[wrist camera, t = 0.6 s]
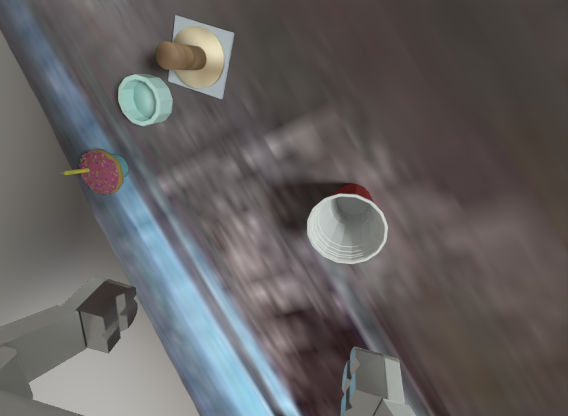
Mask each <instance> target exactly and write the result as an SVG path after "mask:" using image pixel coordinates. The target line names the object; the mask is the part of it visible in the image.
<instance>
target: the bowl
mask: <svg viewBox="0 0 568 416" xmlns="http://www.w3.org/2000/svg"><path fill="white" fill-rule="evenodd" d="M118 101H119V104H120V106H121V109H122V112H123V113H124V115H125V116H126V117H127V118H128V119H129V120H130V121H131V122H132V123H135V124H138V125H141V126H146V125H150V124H155V123H159V122H163V121H165V120H166V119H167V117H168V116H169V115H170V113H171V110H172V102H173V100H172V97H171V94H170V91H169V88H168V86H167V85H166V84H165V83H164V82H163V81H162V80H161V79H160V78H159V77H156V76H153V75H150V74H134V75H131V76H128V77H125V78H124V80H123V81H122V83H121V84H120V86H119V91H118Z"/></svg>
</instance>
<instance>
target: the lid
mask: <svg viewBox="0 0 568 416" xmlns="http://www.w3.org/2000/svg"><path fill="white" fill-rule="evenodd" d="M156 60H157V62H158V64H159V65H160V66H161V67H162V68H164V69H166V70H175V72H176V74H177V75H178V77H179V78H180V79H181V80H182V81H183V82H184V83H185V84H187V85H189V86H191V87H193V88H207V87H210V86H212V85H214V84H215V83H216V82H217V81H218V80H219V78H220V77H221V75H222V73H223V70H224V65H225V56H224V50H223V47H222V45H221V43H220V41H219V39H218V38H217V37H216V36H215V35H214V34H213V33H212V32H211V31H210V30H208V29H206V28H203V27H199V26H190V27H187V28H185V29H183V30H182V31H180V32H179V33H178V35H177V36H176V38H175V39H174V42H173V43H172V42H161V43H160V44H159V45H158V46H157V48H156Z"/></svg>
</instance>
